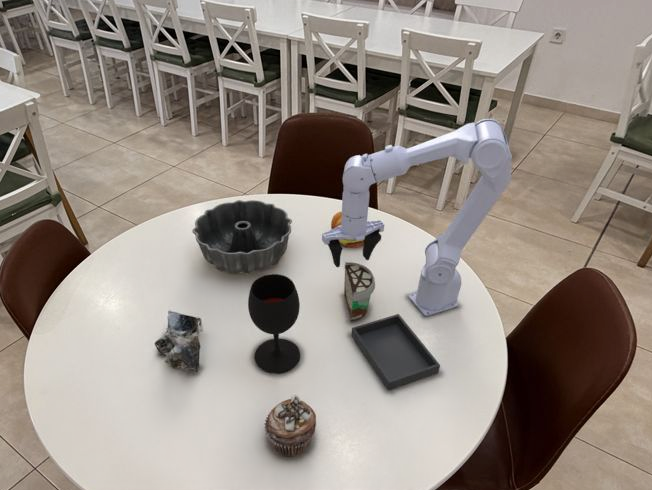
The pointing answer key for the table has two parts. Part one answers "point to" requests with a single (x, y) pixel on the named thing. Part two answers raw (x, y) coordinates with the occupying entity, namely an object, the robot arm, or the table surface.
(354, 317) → the food container
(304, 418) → the cupcake
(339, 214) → the cheeseburger
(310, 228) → the table surface
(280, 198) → the table surface
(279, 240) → the bundt pan
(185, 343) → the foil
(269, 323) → the wine glass
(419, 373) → the dark gray tray
